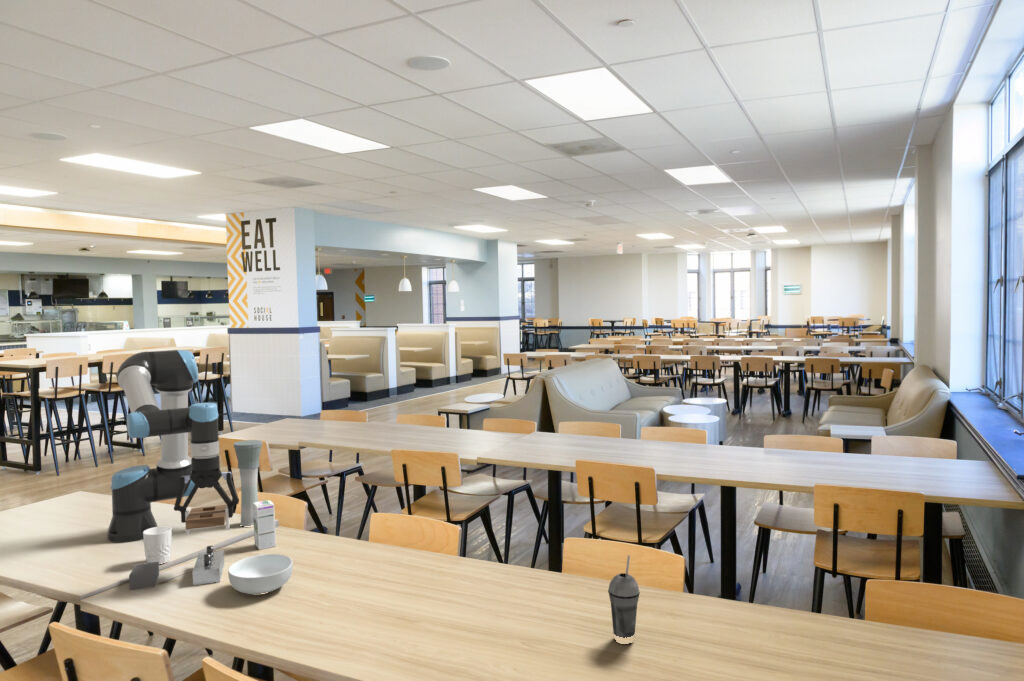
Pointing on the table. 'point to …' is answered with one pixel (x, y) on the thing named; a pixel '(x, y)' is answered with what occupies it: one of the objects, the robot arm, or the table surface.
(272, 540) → the syrup box
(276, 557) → the cereal bowl
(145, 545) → the white cup
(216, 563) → the chassis
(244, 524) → the container
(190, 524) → the board
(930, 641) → the table surface
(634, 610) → the beverage cup
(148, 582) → the riser
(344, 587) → the table surface
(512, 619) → the table surface
